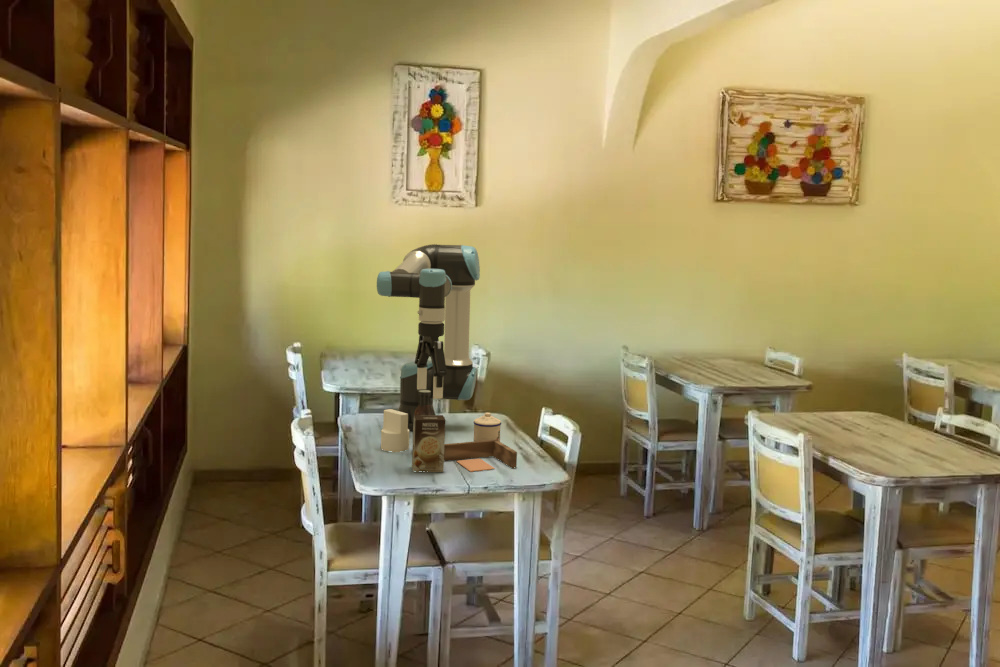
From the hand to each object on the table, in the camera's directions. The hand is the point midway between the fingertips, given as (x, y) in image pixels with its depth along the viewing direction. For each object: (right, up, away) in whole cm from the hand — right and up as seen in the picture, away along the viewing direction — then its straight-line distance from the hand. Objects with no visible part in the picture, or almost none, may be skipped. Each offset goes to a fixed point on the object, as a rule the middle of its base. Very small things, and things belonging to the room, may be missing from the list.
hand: (429, 393), depth 261 cm
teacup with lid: (+16, -20, +31) cm, 40 cm away
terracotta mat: (+13, -23, +9) cm, 28 cm away
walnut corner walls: (+14, -22, +11) cm, 29 cm away
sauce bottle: (-4, -20, +22) cm, 30 cm away
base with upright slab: (-13, -20, +25) cm, 34 cm away
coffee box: (-1, -23, +3) cm, 23 cm away
